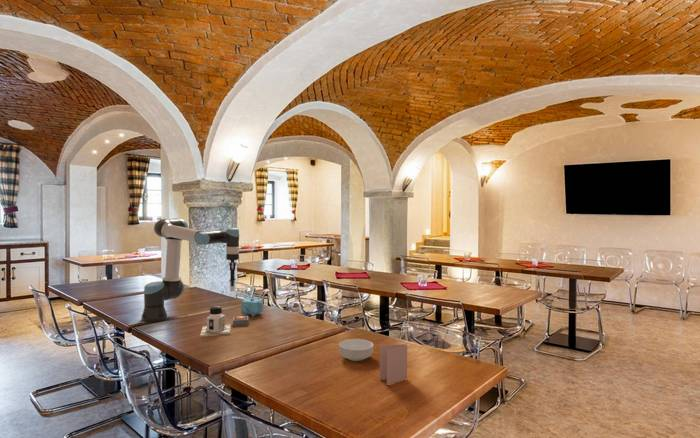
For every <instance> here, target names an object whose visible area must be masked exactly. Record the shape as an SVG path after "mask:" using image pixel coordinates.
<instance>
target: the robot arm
mask: <svg viewBox="0 0 700 438" xmlns="http://www.w3.org/2000/svg"><path fill="white" fill-rule="evenodd" d="M153 231H154V233H155V235H157V236H158V237H160V238H161V237H162V238H164V239H165V240H166V257H165V275H164V277H163V278H162V281H160V280H159V281H153V282H149V283H147V284H145V285H144V288H143V294H144V295H143V299H144V301H143V303H144V304H143V305H144V308H143V311H142V314H141V317H140V318H141V320H140V321H141V322H143V321H145V322H144V323H155V321H157V322H161V321H164V320H167V319H168V313H167V310H166V308H165V301H168V300H173V299H174V300H175V299H177V298H179V297H181V296H182V295H183V294H184V292H185V284H184V282H183V280H182V278H181V277H180V264H181V262H180V261H181V252H182V251H181V248H182V247H181V246H182V241H187V242H193V243H195V244H197V245H199V246H205V245H213V244H226V248H225V249H226V251H225V252H226V261H230V262H229V263H228V264H229V271H230V272H229V273H230V278H229V280H228V281H229V291H230V292H235V287H236V286H235V285H236V284H235V283H236V282H235V281H237V280H236V278H235V276H236V275H235V271H236V266H237V262H236V261H238V260H239V259H240V254H239V253H240V249H241V247H240V243H239V242H240V229H239V228H237V227H235V228H233V227H230V228H226V230H213V231H205V230H198V229H193V228H189V225H188V223H187V222H186V221H185V220H184V219H182V218H163V219H160V220H157V221H156V222H155V223H154V227H153Z"/></svg>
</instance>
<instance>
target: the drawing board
mask: <svg viewBox="0 0 700 438" xmlns="http://www.w3.org/2000/svg"><path fill="white" fill-rule="evenodd" d="M231 326H232V325H231V323H229V324H225V328H223V329H222V330H220V331H207V325H203V326H202V328H201V330H200V331H201V332H200V335H199V337H200V338H204V337H216V336H230V335H231V328H232V327H231Z"/></svg>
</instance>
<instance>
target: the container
mask: <svg viewBox="0 0 700 438" xmlns="http://www.w3.org/2000/svg"><path fill="white" fill-rule="evenodd" d="M222 309H223V307H222V306H211V307H210V308H209V316H207V317H206V326H207V331H220V330H222V329H223V328H225V325H226V314H223V313H222V312H223V310H222Z"/></svg>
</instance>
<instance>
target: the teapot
mask: <svg viewBox="0 0 700 438" xmlns="http://www.w3.org/2000/svg"><path fill="white" fill-rule="evenodd" d="M240 304H241V314H242V315H243V314H244V316H248V317H249V315H251V317H254V318H255V317H256V316H257V315H260V314H261V313H263V311H264V301H263V299H261V296H260V297H258V298H254V297H250V298H247V299H244V300H241V303H240Z"/></svg>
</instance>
